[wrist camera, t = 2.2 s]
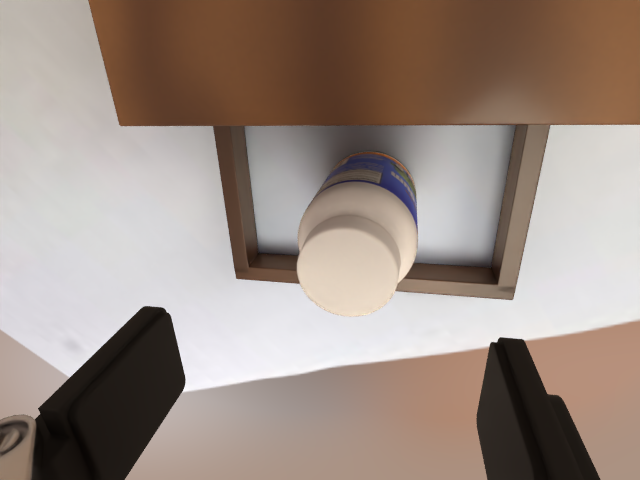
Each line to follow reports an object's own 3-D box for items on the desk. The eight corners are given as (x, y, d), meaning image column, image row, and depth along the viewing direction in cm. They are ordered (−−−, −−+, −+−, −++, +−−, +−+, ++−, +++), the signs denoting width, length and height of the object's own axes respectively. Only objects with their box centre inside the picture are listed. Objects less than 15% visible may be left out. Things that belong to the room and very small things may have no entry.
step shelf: (596, -176, 15) (908, -547, 6) (505, 282, 24) (569, 432, 15) (195, -122, 19) (-29, -303, 9) (246, 264, 28) (162, 378, 18)
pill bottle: (422, 227, 24) (431, 328, 15) (337, 240, 25) (301, 338, 17) (407, 139, 22) (407, 198, 13) (315, 159, 23) (262, 223, 15)
